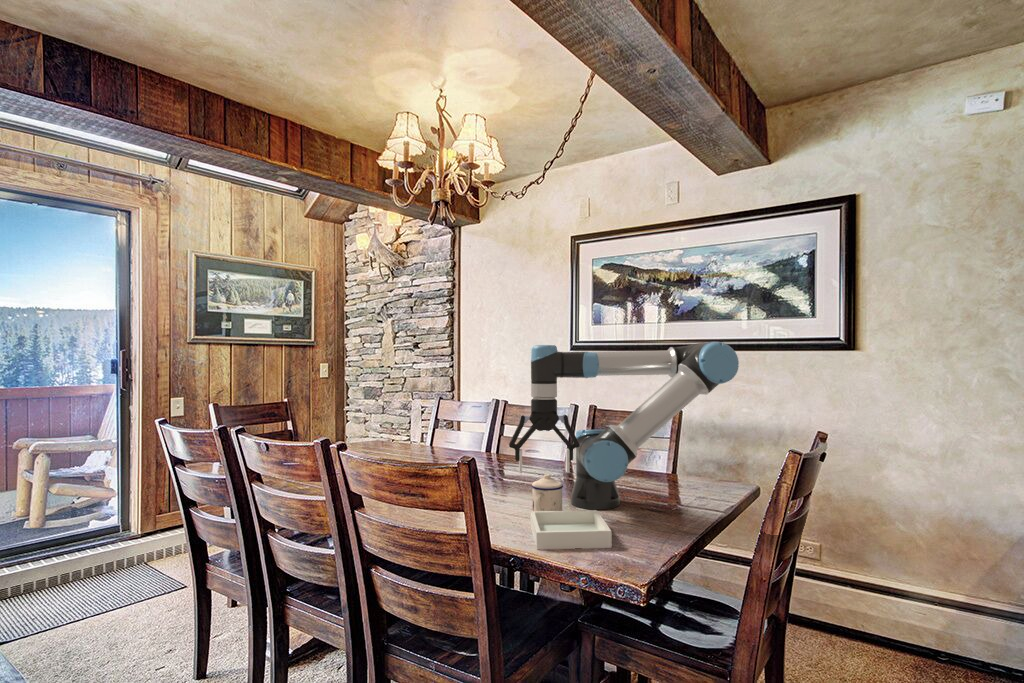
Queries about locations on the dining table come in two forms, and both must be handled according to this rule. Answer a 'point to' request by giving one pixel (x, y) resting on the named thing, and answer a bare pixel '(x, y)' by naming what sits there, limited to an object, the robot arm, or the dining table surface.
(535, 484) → the teacup with lid
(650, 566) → the dining table surface
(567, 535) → the tray
